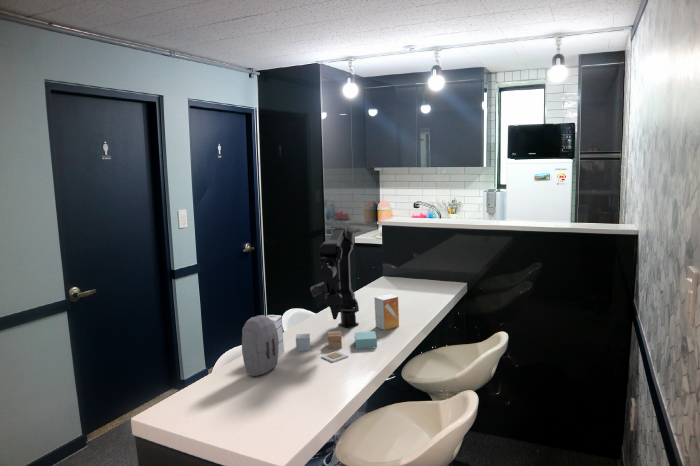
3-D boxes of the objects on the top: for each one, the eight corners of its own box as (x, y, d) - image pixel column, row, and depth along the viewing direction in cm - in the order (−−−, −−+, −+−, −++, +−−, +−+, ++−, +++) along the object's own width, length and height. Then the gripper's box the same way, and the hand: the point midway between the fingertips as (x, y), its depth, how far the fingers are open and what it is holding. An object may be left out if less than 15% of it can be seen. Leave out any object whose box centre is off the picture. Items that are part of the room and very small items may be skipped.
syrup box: (284, 351, 194) (282, 314, 192) (277, 357, 188) (274, 319, 186) (271, 350, 196) (268, 314, 194) (264, 356, 190) (260, 318, 188)
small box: (384, 330, 211) (383, 300, 209) (375, 327, 216) (373, 297, 215) (399, 326, 216) (398, 296, 214) (390, 322, 221) (389, 293, 219)
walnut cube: (328, 344, 199) (328, 332, 199) (341, 343, 199) (340, 331, 199) (328, 349, 194) (328, 336, 194) (341, 348, 194) (341, 335, 194)
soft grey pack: (268, 362, 184) (264, 308, 182) (287, 365, 180) (283, 310, 177) (240, 378, 172) (234, 321, 169) (259, 382, 167) (254, 323, 165)
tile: (321, 357, 186) (321, 355, 186) (336, 352, 190) (336, 350, 190) (332, 362, 181) (332, 360, 181) (348, 357, 185) (348, 355, 185)
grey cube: (297, 346, 199) (296, 334, 198) (310, 345, 199) (309, 333, 198) (296, 351, 194) (295, 338, 193) (309, 350, 194) (309, 337, 193)
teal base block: (354, 342, 200) (354, 332, 200) (375, 341, 201) (374, 331, 200) (356, 349, 192) (355, 339, 192) (377, 348, 193) (376, 338, 192)
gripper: (311, 271, 202) (313, 310, 204) (310, 282, 183) (313, 324, 186) (339, 270, 202) (341, 308, 205) (341, 280, 184) (343, 322, 186)
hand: (334, 315), depth 195 cm, fingers open, 9 cm apart
